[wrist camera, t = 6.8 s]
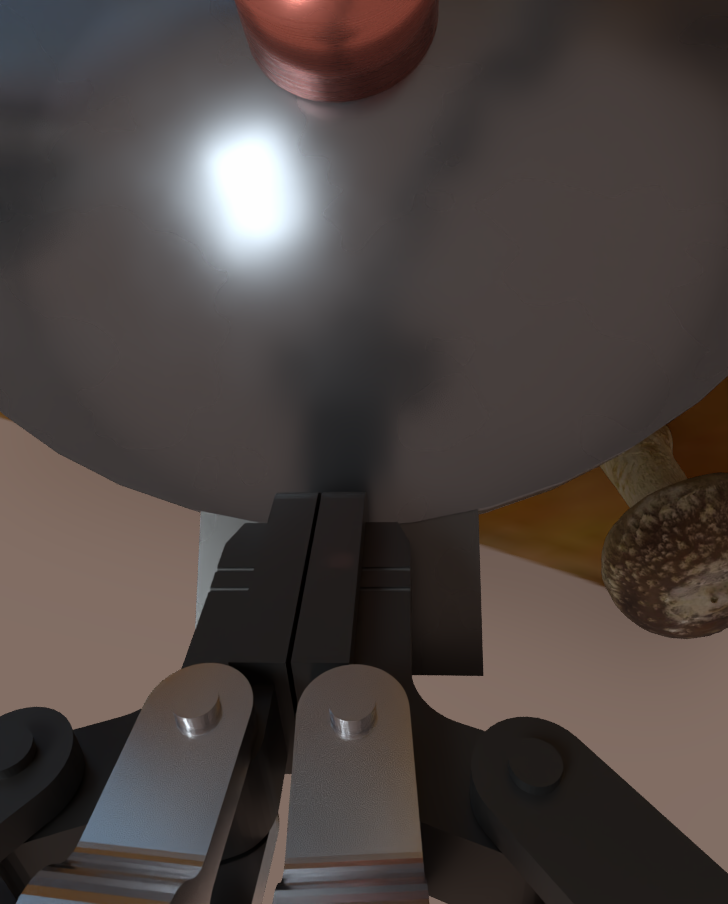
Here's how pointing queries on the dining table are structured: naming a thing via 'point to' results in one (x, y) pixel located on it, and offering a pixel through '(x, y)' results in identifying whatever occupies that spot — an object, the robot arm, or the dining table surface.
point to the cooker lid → (361, 254)
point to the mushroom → (668, 543)
